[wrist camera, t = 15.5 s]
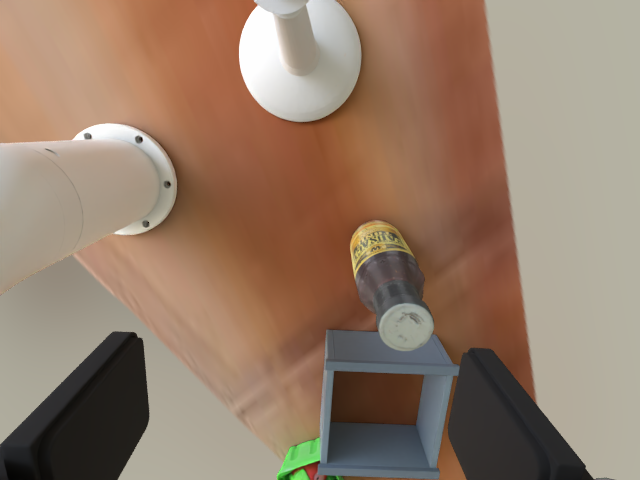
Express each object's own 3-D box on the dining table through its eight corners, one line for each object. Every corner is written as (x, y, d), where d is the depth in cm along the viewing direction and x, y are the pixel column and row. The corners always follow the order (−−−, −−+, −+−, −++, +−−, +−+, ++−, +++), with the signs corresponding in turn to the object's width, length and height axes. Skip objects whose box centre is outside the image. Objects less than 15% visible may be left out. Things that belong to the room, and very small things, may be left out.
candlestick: (382, 81, 40) (548, -40, 11) (282, 144, 42) (208, 177, 13) (321, -39, 37) (337, -628, 8) (216, 35, 39) (-74, -233, 10)
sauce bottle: (389, 209, 44) (444, 270, 25) (406, 255, 46) (470, 344, 27) (338, 230, 45) (354, 305, 26) (357, 274, 47) (385, 375, 28)
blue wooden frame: (317, 427, 53) (317, 475, 46) (324, 326, 49) (325, 361, 41) (422, 432, 54) (438, 479, 46) (439, 331, 49) (460, 367, 42)
